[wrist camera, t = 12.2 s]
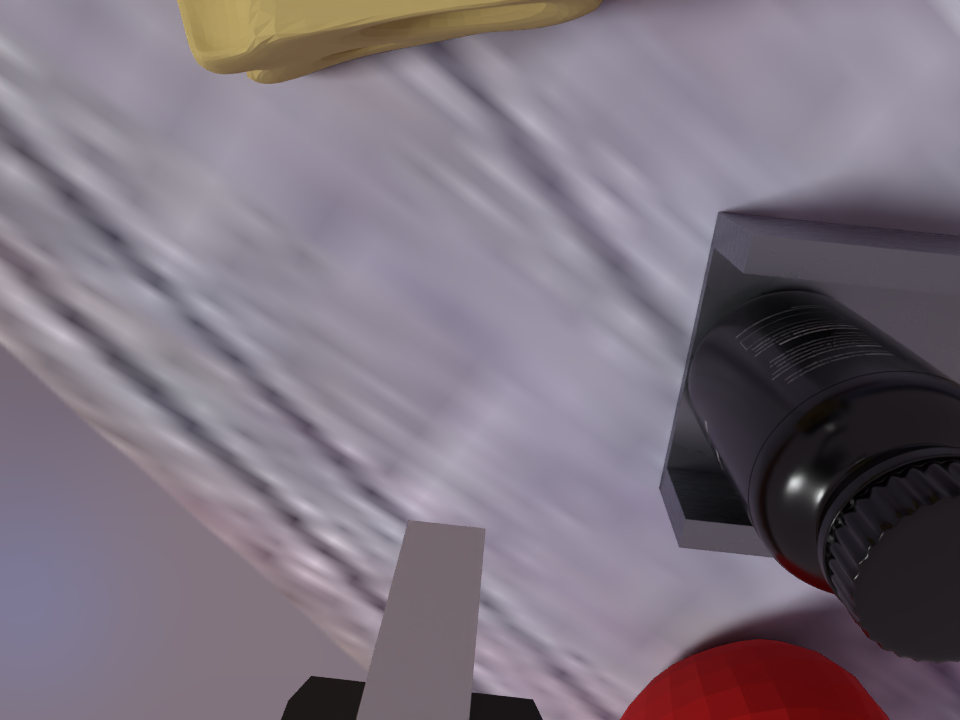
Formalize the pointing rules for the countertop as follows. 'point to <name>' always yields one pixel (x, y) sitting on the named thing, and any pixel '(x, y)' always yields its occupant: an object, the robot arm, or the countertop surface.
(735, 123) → the countertop surface
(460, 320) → the countertop surface
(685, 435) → the guide channel
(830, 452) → the supplement bottle
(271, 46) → the cheese
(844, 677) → the tomato
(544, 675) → the countertop surface
